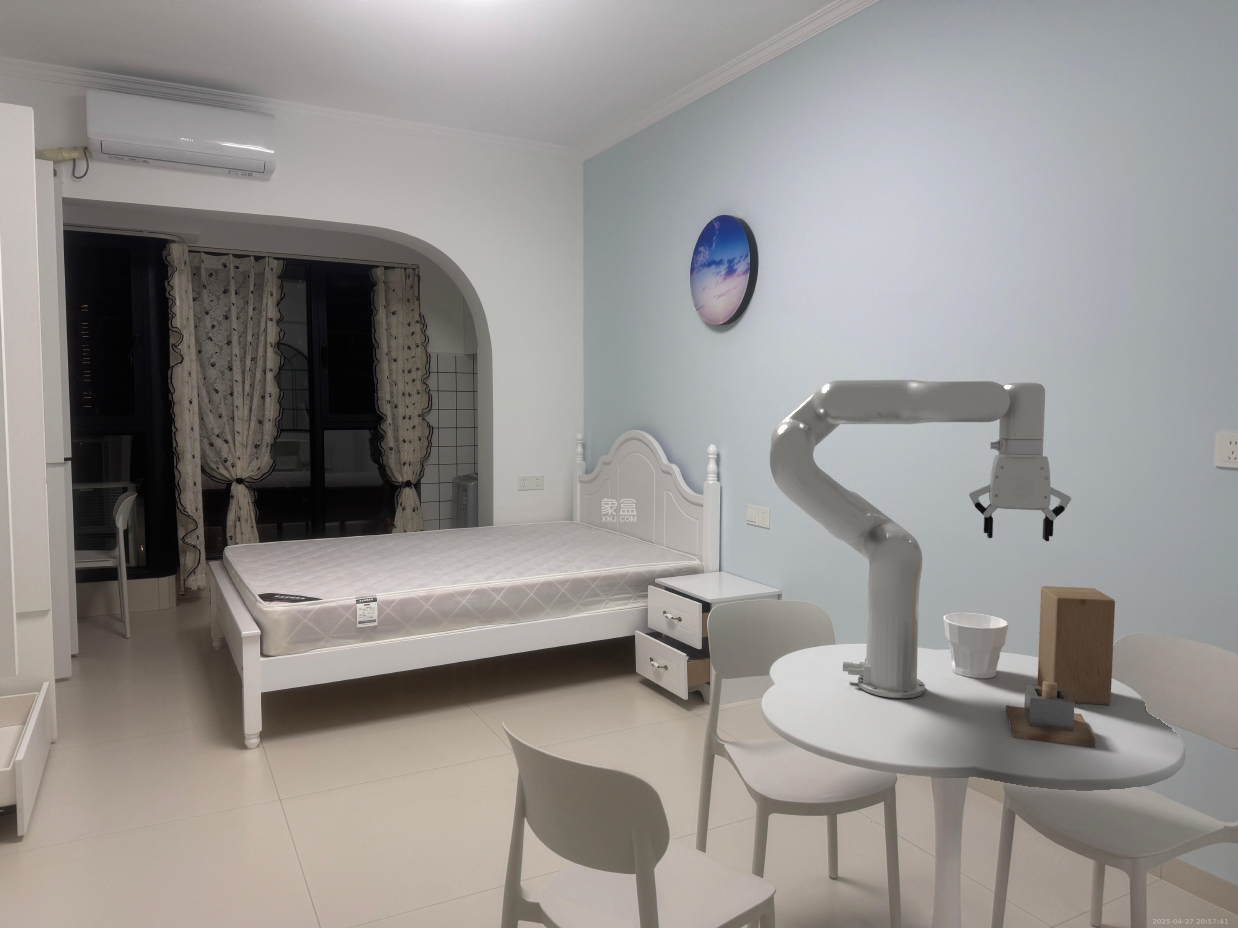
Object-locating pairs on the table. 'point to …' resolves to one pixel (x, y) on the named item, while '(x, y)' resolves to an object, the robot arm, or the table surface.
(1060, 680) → the wooden block
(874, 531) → the robot arm
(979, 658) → the cup
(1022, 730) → the post base
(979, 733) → the table surface
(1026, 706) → the collar
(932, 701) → the table surface
